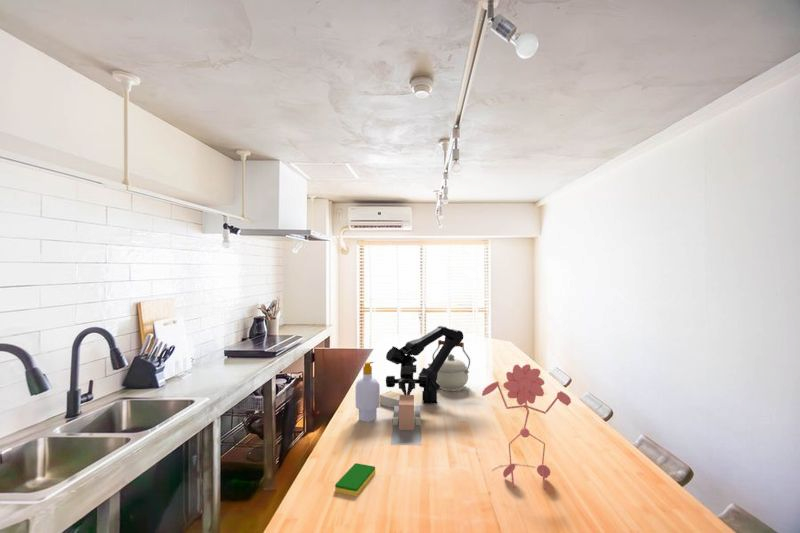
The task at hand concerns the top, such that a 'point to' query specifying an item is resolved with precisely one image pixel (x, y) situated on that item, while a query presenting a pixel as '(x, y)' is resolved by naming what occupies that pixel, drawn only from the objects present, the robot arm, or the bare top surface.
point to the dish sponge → (355, 479)
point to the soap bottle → (367, 395)
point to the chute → (406, 435)
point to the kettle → (452, 371)
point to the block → (406, 412)
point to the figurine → (525, 388)
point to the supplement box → (390, 399)
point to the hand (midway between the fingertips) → (406, 399)
